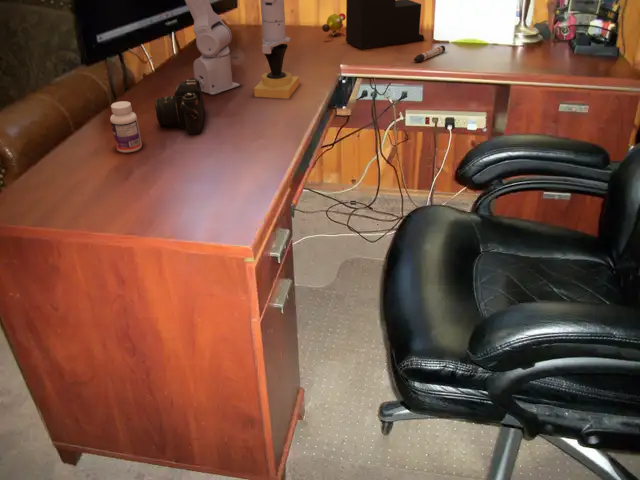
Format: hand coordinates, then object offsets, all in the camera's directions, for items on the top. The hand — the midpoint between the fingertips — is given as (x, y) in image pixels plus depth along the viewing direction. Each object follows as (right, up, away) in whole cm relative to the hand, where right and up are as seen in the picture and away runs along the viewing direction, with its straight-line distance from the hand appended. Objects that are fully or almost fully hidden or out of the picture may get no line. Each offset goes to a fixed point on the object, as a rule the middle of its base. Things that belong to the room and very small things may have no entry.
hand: (276, 74), depth 160 cm
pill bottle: (-30, -23, -27) cm, 46 cm away
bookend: (+32, +21, +40) cm, 56 cm away
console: (0, -4, +2) cm, 4 cm away
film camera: (-20, -16, -16) cm, 30 cm away
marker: (+43, +11, +24) cm, 51 cm away
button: (0, -2, +1) cm, 2 cm away
